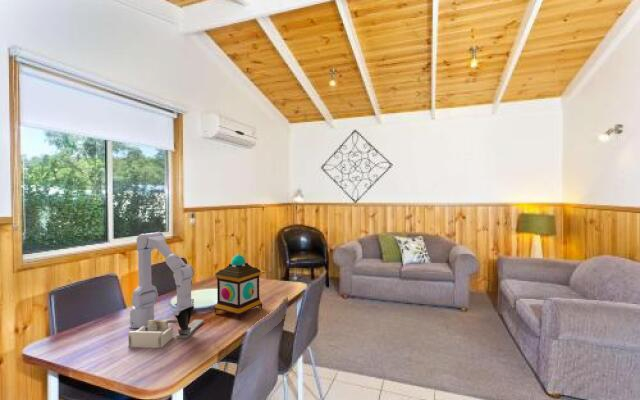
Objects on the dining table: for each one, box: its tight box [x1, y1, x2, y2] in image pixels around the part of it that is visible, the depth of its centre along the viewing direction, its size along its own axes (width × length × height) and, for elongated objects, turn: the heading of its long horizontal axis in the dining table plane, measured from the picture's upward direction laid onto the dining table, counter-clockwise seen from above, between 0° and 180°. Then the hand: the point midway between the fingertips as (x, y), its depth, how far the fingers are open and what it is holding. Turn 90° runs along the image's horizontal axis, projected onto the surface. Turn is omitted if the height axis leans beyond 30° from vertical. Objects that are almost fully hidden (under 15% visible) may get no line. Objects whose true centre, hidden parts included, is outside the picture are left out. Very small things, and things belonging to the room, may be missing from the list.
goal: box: [127, 326, 174, 349], centre depth 129 cm, size 13×9×6 cm
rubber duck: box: [149, 322, 158, 331], centre depth 131 cm, size 5×7×8 cm
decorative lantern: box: [214, 254, 263, 321], centre depth 162 cm, size 20×20×30 cm
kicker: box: [147, 314, 191, 335], centre depth 135 cm, size 17×4×9 cm, turn 87°
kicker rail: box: [176, 319, 205, 339], centre depth 141 cm, size 4×17×1 cm, turn 177°
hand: (184, 325), depth 135 cm, fingers open, 3 cm apart
